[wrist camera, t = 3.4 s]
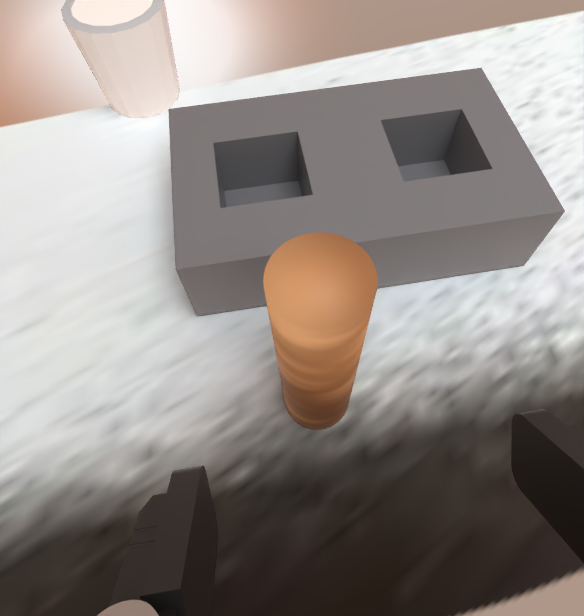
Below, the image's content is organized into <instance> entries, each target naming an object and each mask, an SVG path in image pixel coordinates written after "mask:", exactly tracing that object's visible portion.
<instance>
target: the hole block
mask: <svg viewBox="0 0 584 616" xmlns="http://www.w3.org/2000/svg"><path fill="white" fill-rule="evenodd" d="M169 128H170V151H171V173H172V195H173V217H174V239H175V262H176V271H177V273H178V275H179V277H180V279H181V282H182V284H183V286H184V288H185V290H186V292H187V295H188V297H189V299H190V301H191V303H192V305H193V307H194V310H195V312H196V314H197V316H202V315H209V314H215V313H222V312H228V311H235V310H241V309H247V308H254V307H260V306H267V302H266V297H265V291H264V284H263V278H264V271H265V267H266V265H267V262H268V261H269V259H270V257H271V256H272V254H273V253H274V252H275V251H276V250H277V249H278V248H279V247H280V246H281V245H283V244H284V243H285V242H287V241H289V240H290V239H293V238H295V237H297V236H300V235H303V234H308V233H316V232H325V233H332V234H337V235H340V236H343V237H346V238H348V239H350V240H352V241H353V242H355V243H357V244H358V245H359V246H360V247H362V248H363V249H364V250H365V251H366V252H367V254H368V255H369V256H370V258H371V260H372V261H373V263H374V266H375V268H376V272H377V281H378V283H377V288H383V287H389V286H395V285H402V284H408V283H415V282H421V281H428V280H434V279H440V278H447V277H453V276H460V275H466V274H473V273H479V272H485V271H492V270H498V269H505V268H511V267H518V266H524V265H525V263H526V262H527V261H528V259H529V258H530V257H531V255H532V254H533V253H534V251H535V250H536V249H537V247H538V246H539V245H540V243H541V242H542V241H543V239H544V238H545V237H546V235H547V234H548V233H549V232H550V230H551V229H552V228H553V226H554V225H555V224H556V222H557V221H558V220H559V218H560V217H561V216H562V214H563V213H564V212H565V211H564V209H563V207H562V205H561V204H560V202H559V200H558V199H557V197H556V195H555V193H554V192H553V190H552V188H551V187H550V185H549V183H548V181H547V180H546V178H545V176H544V175H543V173H542V171H541V169H540V168H539V166H538V164H537V163H536V161H535V159H534V157H533V156H532V154H531V152H530V151H529V149H528V147H527V145H526V144H525V142H524V140H523V139H522V137H521V135H520V133H519V132H518V130H517V128H516V127H515V125H514V123H513V121H512V120H511V118H510V116H509V115H508V113H507V111H506V109H505V108H504V106H503V104H502V103H501V101H500V99H499V97H498V96H497V94H496V92H495V91H494V89H493V87H492V85H491V84H490V82H489V80H488V79H487V77H486V75H485V73H484V72H483V70H482V68H477V69H469V70H462V71H454V72H447V73H439V74H431V75H424V76H416V77H409V78H401V79H394V80H386V81H378V82H371V83H363V84H356V85H348V86H341V87H333V88H325V89H318V90H310V91H303V92H295V93H288V94H280V95H272V96H265V97H257V98H250V99H242V100H235V101H227V102H219V103H212V104H204V105H197V106H189V107H181V108H174V109H169Z"/></svg>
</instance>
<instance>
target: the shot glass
mask: <svg viewBox="0 0 584 616" xmlns="http://www.w3.org/2000/svg"><path fill="white" fill-rule="evenodd" d="M61 11H62V16H63V20H64V22H65V24H66V26H67V28H68V30H69V31H70V33H71V35H72V37H73V38H74V40H75V42H76V44H77V46H78V47H79V49H80V51H81V53H82V55H83V56H84V58H85V60H86V62H87V64H88V65H89V67H90V69H91V71H92V73H93V74H94V76H95V78H96V80H97V81H98V83H99V85H100V87H101V89H102V90H103V92H104V94H105V96H106V97H107V99H108V101H109V103H110V105H111V107H112V108H113V109H114V110H115V111H116V112H118V113H119V114H120V115H123V116H126V117H130V118H147V117H151V116H155V115H158V114H160V113H162V112H164V111H166V110H167V109H169V108H171V106H172V105H173V104H174V103H175V102H176V101H177V99H178V96H179V92H180V88H179V82H178V77H177V71H176V65H175V59H174V54H173V48H172V43H171V36H170V31H169V25H168V19H167V13H166V7H165V2H164V0H66V1H65V3H64V6H63V7H62V9H61Z"/></svg>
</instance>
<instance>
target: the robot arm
mask: <svg viewBox="0 0 584 616" xmlns="http://www.w3.org/2000/svg"><path fill="white" fill-rule="evenodd" d="M511 465H512V472H513V475H514V478H515V481H516V483H517V485H518V487H519V488H520V490H521V491H522V492H523V493H524V495H525V496H526V497H527V498H528V499H529V500H530V502H531V503H532V504H533V505H534V506H535V507H536V508H537V510H538V511H539V512H540V513H541V514H542V515H543V517H544V518H545V519H546V520H547V521H548V522H549V524H550V525H551V526H552V527H553V528H554V529H555V530H556V532H557V533H558V534H559V535H560V536H561V537H562V539H563V540H564V541H565V542H566V543H567V544H568V545H569V547H570V548H571V549H572V550H573V551H574V552H575V554H576V555H577V556H578V557H579V558H580V559H581V560H582V562H583V563H584V430H583V429H580V428H578V427H576V426H573V425H569V426H568V425H567V424H565V423H564V422H563V421H562V420H560V419H559V418H558V417H556V416H555V415H554V414H553V413H551V412H550V411H548V410H546V409H541V410H536V411H530V412H524V413H518V414H515V415H514V416H513V418H512V456H511ZM217 543H218V532H217V521H216V515H215V511H214V506H213V501H212V497H211V492H210V488H209V483H208V479H207V474H206V471H205V468H204V466H198V467H193V468H187V469H181V470H175V471H173V473H172V475H171V479H170V483H169V487H168V491H167V493H165V494H159V495H153V496H152V498H151V499H150V500H149V501H148V502H147V504H146V505H145V506H144V507H143V509H142V510H141V511H140V512H139V515H138V518H137V521H136V524H135V527H134V533H133V534H132V537H131V540H130V543H129V549H127V552H126V555H125V558H124V561H123V564H122V567H121V570H120V573H119V576H118V579H117V582H116V585H115V588H114V591H113V594H112V597H111V600H110V603H109V606H108V608H107V609H105V610H104V611H102V612H101V613H100V614H98V615H97V616H211V611H212V600H213V588H214V577H215V566H216V555H217Z"/></svg>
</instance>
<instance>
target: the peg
mask: <svg viewBox="0 0 584 616" xmlns="http://www.w3.org/2000/svg"><path fill="white" fill-rule="evenodd" d="M377 283H378V281H377V272H376V268H375V266H374V263H373V261H372V260H371V258H370V256H369V255H368V254H367V252H366V251H365V250H364V249H363V248H362V247H360V246H359V245H358V244H357V243H355V242H353V241H352V240H350V239H348V238H346V237H343V236H340V235H337V234H332V233H325V232H316V233H308V234H303V235H300V236H297V237H295V238H293V239H290V240H289V241H287V242H285V243H284V244H283V245H281V246H280V247H279V248H278V249H277V250H276V251H275V252H274V253H273V254H272V256H271V257H270V259H269V261H268V262H267V265H266V267H265V271H264V278H263V284H264V291H265V297H266V302H267V307H268V313H269V318H270V324H271V329H272V334H273V340H274V345H275V351H276V356H277V361H278V367H279V372H280V378H281V383H282V388H283V394H284V399H285V404H286V408H287V410H288V412H289V414H290V416H291V417H292V418H293V419H294V420H295V421H296V422H297V423H298V424H300V425H302V426H304V427H306V428H309V429H325V428H328V427H331V426H333V425H334V424H336V423H337V422H338V421H339V420H340V419H341V418H342V417H343V416H344V414H345V412H346V410H347V407H348V403H349V399H350V395H351V391H352V387H353V383H354V379H355V375H356V371H357V367H358V363H359V359H360V355H361V351H362V347H363V343H364V339H365V335H366V331H367V327H368V323H369V318H370V314H371V310H372V306H373V302H374V298H375V294H376V290H377Z"/></svg>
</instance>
